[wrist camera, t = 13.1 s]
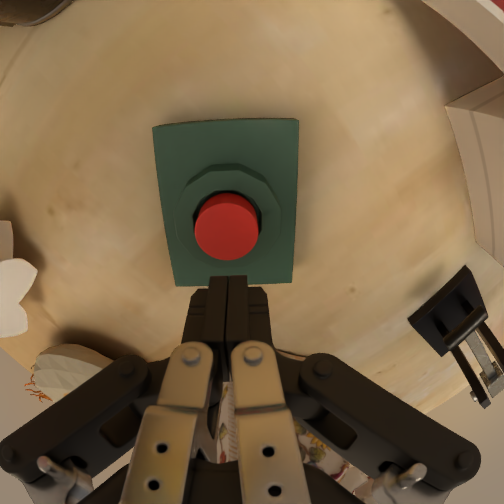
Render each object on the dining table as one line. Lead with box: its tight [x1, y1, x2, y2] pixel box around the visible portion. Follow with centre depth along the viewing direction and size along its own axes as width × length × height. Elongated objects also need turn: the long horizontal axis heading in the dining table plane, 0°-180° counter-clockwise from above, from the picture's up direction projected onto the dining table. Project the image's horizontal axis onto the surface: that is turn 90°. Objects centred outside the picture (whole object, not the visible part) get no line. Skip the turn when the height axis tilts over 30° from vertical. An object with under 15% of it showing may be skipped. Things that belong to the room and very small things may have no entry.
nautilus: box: [25, 344, 114, 403], centre depth 27 cm, size 8×22×15 cm
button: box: [195, 193, 259, 260], centre depth 17 cm, size 4×4×2 cm
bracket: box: [408, 265, 504, 409], centre depth 22 cm, size 12×9×13 cm
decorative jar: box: [217, 351, 350, 483], centre depth 23 cm, size 12×12×18 cm
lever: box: [443, 305, 504, 398], centre depth 18 cm, size 12×4×2 cm, turn 49°
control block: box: [152, 118, 299, 286], centre depth 18 cm, size 12×9×4 cm
